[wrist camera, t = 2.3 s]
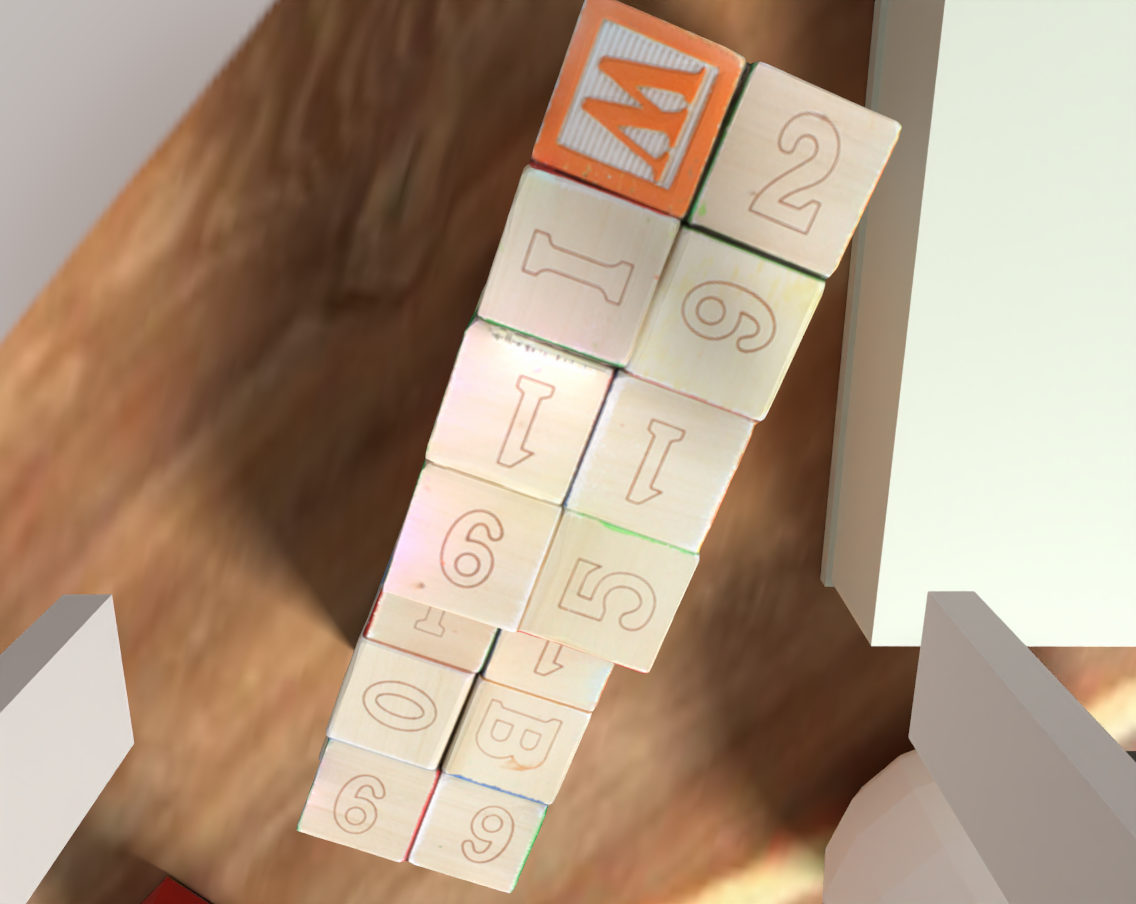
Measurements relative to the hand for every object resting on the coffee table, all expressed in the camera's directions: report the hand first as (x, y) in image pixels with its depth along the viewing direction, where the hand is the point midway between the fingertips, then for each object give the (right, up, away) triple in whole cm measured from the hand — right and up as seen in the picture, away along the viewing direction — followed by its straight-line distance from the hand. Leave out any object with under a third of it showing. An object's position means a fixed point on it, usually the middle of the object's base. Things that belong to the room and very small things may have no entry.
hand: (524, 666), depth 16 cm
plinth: (+14, +11, +14) cm, 23 cm away
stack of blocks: (0, +5, +16) cm, 17 cm away
